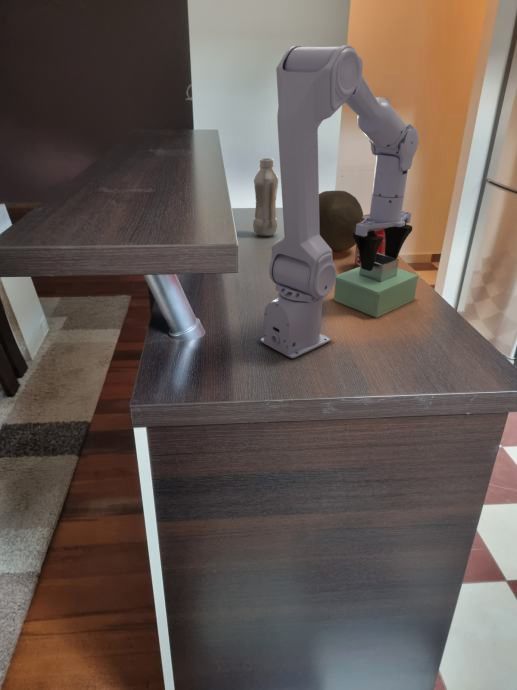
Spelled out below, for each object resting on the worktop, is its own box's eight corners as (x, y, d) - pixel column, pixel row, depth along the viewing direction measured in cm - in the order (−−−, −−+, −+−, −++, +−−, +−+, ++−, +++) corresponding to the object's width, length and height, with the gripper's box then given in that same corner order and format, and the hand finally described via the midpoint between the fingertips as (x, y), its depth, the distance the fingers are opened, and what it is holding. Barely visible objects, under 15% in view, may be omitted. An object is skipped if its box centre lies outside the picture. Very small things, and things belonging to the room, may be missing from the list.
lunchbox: (376, 317, 97) (379, 294, 95) (333, 300, 104) (335, 278, 101) (414, 300, 104) (418, 278, 102) (372, 284, 111) (374, 263, 109)
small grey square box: (380, 282, 98) (382, 265, 96) (358, 274, 101) (360, 258, 100) (396, 275, 101) (398, 259, 100) (375, 268, 105) (377, 252, 103)
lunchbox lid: (377, 295, 94) (378, 292, 94) (333, 278, 101) (334, 276, 101) (418, 277, 102) (418, 275, 102) (374, 263, 109) (375, 260, 109)
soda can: (348, 265, 122) (353, 214, 116) (374, 261, 124) (380, 212, 118) (363, 275, 116) (369, 222, 110) (390, 271, 118) (397, 220, 112)
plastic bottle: (249, 233, 143) (249, 158, 134) (270, 230, 146) (272, 156, 136) (258, 239, 138) (259, 162, 129) (281, 236, 141) (283, 160, 131)
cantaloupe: (351, 241, 138) (357, 184, 130) (367, 259, 125) (374, 197, 118) (299, 242, 136) (302, 185, 129) (310, 261, 124) (314, 198, 117)
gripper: (382, 204, 87) (372, 279, 93) (429, 192, 95) (417, 262, 102) (349, 197, 91) (342, 269, 98) (397, 186, 100) (387, 253, 107)
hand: (378, 264), depth 100 cm, fingers open, 7 cm apart
